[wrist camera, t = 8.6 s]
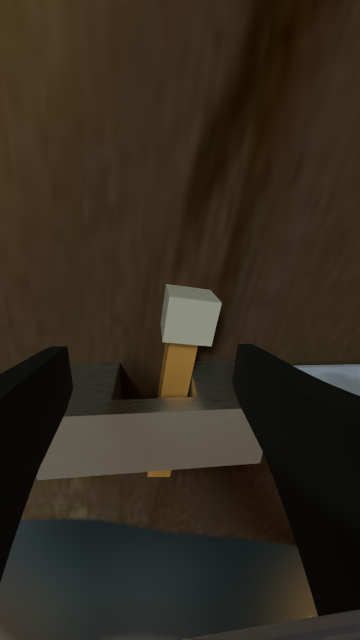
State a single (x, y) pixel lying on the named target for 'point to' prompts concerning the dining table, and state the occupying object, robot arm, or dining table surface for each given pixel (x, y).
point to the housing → (149, 426)
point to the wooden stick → (184, 339)
